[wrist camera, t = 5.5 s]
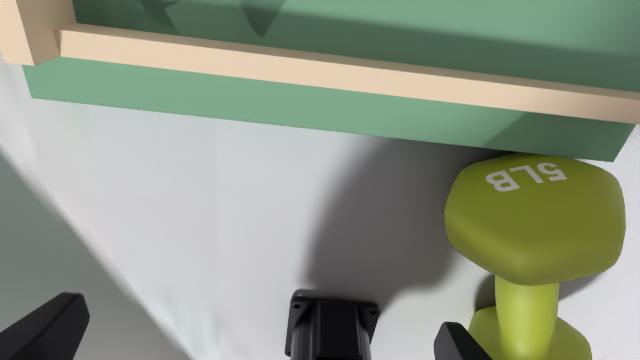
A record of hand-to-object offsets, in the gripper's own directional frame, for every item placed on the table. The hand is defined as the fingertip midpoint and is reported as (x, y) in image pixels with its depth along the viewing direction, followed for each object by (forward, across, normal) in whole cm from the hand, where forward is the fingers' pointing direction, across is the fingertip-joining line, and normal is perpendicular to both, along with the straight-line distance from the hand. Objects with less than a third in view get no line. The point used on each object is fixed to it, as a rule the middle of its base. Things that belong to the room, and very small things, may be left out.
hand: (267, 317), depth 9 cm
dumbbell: (+12, -14, +7) cm, 20 cm away
